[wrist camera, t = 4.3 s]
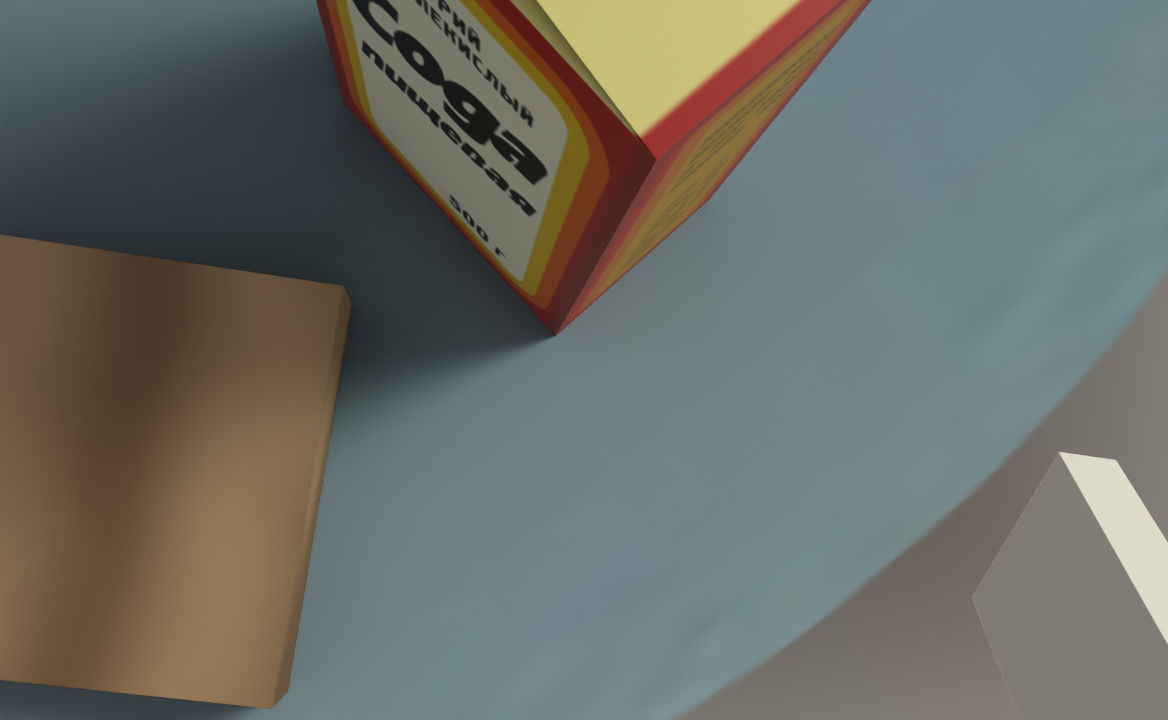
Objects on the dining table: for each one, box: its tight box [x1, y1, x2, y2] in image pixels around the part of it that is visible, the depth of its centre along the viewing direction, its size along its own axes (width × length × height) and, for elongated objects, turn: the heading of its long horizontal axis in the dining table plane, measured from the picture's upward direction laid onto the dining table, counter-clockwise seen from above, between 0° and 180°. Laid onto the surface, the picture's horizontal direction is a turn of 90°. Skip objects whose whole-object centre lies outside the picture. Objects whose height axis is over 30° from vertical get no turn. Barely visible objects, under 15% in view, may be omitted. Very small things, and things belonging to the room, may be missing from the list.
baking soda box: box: [316, 0, 871, 336], centre depth 24 cm, size 10×6×16 cm
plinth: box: [0, 235, 352, 709], centre depth 27 cm, size 11×11×2 cm
